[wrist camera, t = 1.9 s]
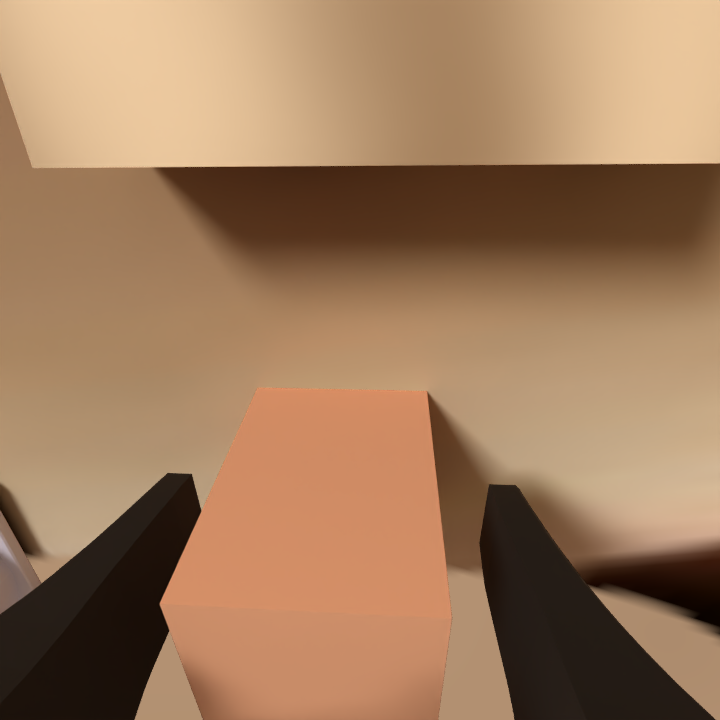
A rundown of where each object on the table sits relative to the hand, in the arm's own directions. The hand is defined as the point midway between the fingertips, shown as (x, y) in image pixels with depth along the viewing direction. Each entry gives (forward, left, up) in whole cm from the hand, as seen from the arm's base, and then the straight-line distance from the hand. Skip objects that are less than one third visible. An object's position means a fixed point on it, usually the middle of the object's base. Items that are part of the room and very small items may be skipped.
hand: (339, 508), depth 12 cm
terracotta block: (0, 0, -2) cm, 2 cm away
